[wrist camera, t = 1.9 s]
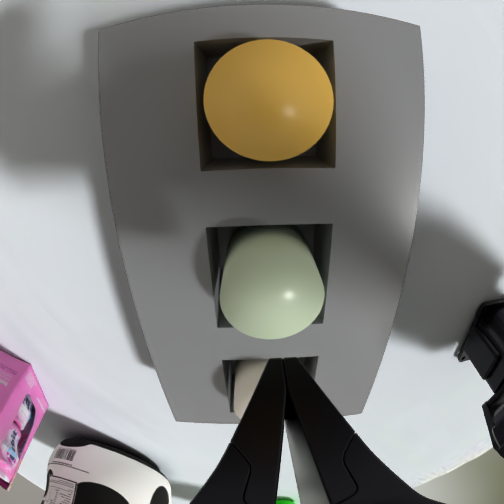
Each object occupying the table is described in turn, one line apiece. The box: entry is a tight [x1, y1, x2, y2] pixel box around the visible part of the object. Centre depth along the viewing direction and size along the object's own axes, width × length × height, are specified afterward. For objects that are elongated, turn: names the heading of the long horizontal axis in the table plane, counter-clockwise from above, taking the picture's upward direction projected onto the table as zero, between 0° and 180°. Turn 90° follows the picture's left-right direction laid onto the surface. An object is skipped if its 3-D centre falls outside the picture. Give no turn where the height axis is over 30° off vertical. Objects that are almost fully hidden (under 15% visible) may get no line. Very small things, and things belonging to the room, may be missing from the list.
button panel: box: [98, 4, 425, 424], centre depth 15 cm, size 13×23×4 cm, turn 2°
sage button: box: [220, 224, 325, 339], centre depth 14 cm, size 4×4×4 cm
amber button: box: [203, 39, 334, 161], centre depth 10 cm, size 4×4×4 cm
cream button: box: [234, 357, 302, 424], centre depth 17 cm, size 4×4×4 cm
